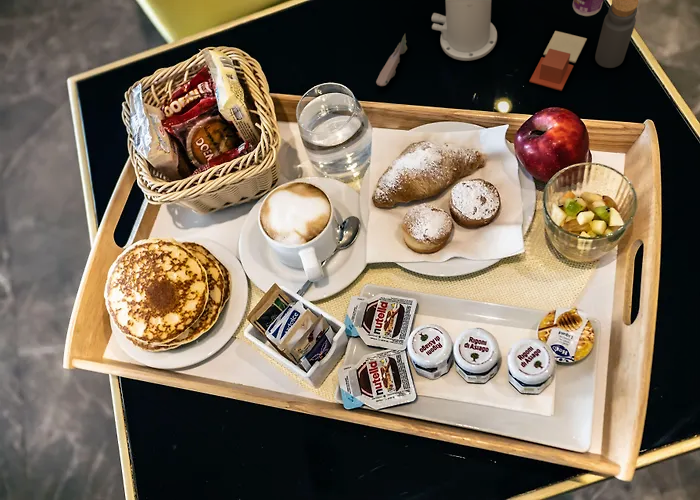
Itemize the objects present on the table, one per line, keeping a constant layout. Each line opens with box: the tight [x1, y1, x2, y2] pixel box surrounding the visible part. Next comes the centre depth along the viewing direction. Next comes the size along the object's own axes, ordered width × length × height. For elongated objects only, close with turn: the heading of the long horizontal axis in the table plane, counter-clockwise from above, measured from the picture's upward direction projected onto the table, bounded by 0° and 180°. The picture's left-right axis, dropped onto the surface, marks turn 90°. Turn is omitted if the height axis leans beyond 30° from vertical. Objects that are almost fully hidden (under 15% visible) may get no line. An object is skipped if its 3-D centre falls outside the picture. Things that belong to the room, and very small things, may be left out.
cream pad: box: [543, 30, 588, 64], centre depth 132 cm, size 7×7×1 cm
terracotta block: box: [539, 48, 570, 84], centre depth 127 cm, size 4×4×4 cm
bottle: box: [594, 0, 639, 69], centre depth 122 cm, size 6×6×15 cm
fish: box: [375, 33, 408, 87], centre depth 135 cm, size 3×14×5 cm, turn 153°
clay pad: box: [529, 56, 574, 92], centre depth 129 cm, size 7×7×1 cm
